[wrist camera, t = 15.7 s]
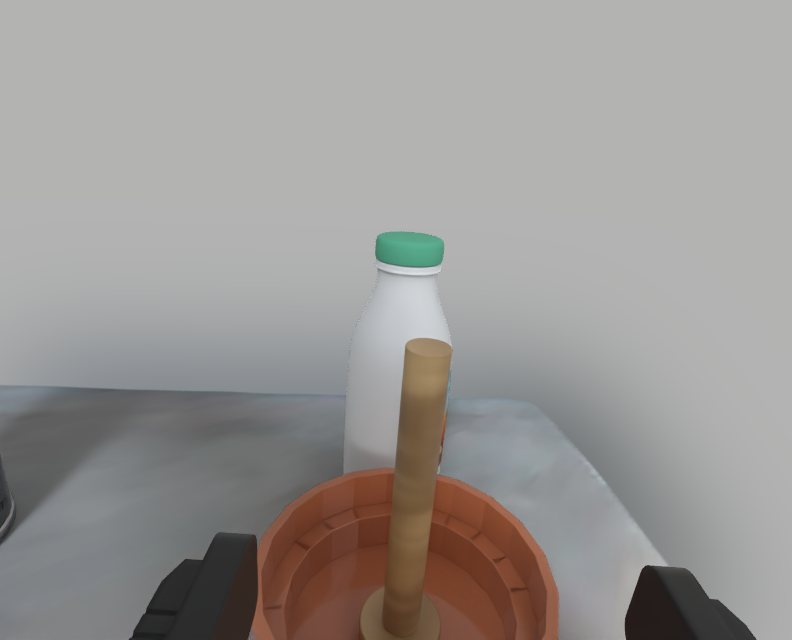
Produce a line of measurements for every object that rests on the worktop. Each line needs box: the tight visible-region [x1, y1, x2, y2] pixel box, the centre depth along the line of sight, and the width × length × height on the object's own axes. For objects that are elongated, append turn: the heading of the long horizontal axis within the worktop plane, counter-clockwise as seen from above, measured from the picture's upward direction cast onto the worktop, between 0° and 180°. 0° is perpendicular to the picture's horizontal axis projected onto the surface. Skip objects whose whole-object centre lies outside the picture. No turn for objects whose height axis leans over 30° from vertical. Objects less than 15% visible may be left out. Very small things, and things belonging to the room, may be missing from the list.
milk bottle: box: [343, 232, 452, 475], centre depth 35 cm, size 8×8×20 cm
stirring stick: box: [359, 338, 452, 640], centre depth 23 cm, size 4×4×17 cm
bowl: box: [250, 467, 559, 640], centre depth 25 cm, size 15×15×6 cm
